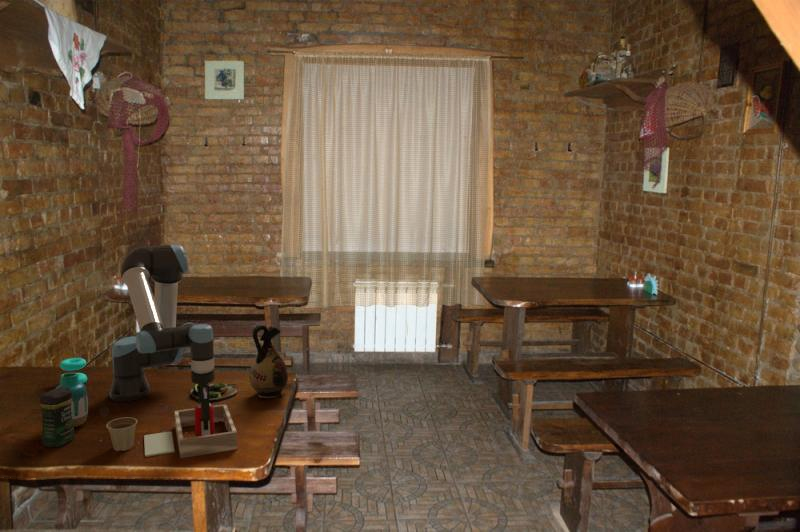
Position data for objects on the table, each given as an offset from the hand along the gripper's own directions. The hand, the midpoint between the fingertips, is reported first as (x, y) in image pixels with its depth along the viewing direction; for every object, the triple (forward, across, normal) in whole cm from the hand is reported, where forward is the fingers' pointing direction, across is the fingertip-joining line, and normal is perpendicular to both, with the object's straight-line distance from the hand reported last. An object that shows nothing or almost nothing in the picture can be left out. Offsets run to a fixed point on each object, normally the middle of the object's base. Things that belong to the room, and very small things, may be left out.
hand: (204, 433), depth 214 cm
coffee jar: (+2, -14, -46) cm, 48 cm away
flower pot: (+2, -2, -26) cm, 26 cm away
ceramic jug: (+2, -32, +28) cm, 42 cm away
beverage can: (+2, 0, 0) cm, 2 cm away
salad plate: (+2, -41, +7) cm, 42 cm away
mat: (+1, 0, -15) cm, 15 cm away
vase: (+2, -27, -43) cm, 51 cm away
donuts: (+2, -75, -46) cm, 88 cm away
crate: (+1, 0, 0) cm, 1 cm away
